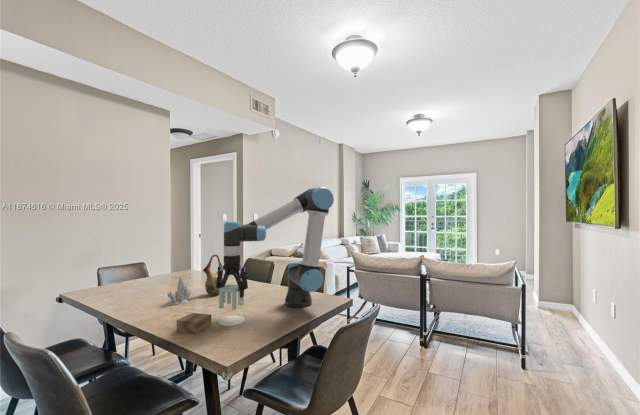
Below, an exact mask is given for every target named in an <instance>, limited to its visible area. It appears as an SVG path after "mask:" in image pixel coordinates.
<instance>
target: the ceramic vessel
mask: <svg viewBox="0 0 640 415" xmlns="http://www.w3.org/2000/svg"><path fill="white" fill-rule="evenodd" d="M214 257H216V259H217V262H218V267H220V266H224V264H222V263H221V260H220V257H219V255H218V254H215V253H214V254H213V255H211V257H210V258H209V261H208V263H207V265H205V267H204V268H202V272H203V273H205V275H206V280H205V281H204V282H205V285H204V289H205V292H206V294H207V295H209V296H211V297H214V296H219V288H216V282H217V276H218V271H216V272H215V273H214V274H213V273H212V272H211V265H212V262H213V258H214ZM223 277H224V276H222V280H223Z"/></svg>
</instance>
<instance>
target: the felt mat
mask: <svg viewBox="0 0 640 415" xmlns="http://www.w3.org/2000/svg"><path fill="white" fill-rule="evenodd" d="M245 321H246V318H245V317H244V316H241V315H229V316H228V315H227V316H224V317H221V318H219V319H218V321H217V324H218V326H221V327H236V326H240V325H242V324H243V323H245Z"/></svg>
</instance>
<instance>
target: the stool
mask: <svg viewBox="0 0 640 415" xmlns="http://www.w3.org/2000/svg"><path fill="white" fill-rule="evenodd" d="M238 291H239V287H238V284H227V285H226V284H225V286H224V287H221V288H219V294H218V297H219V298H218V308H219V309H223V308H224V304H225V303H224V292H226V305H231V310H233V311H235V310H236V309H237V301H238ZM244 298H245V296H244V297H242V304H241V305H240V306H245V305H244V303H245V300H244Z"/></svg>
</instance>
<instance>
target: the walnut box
mask: <svg viewBox="0 0 640 415" xmlns="http://www.w3.org/2000/svg"><path fill="white" fill-rule="evenodd" d="M210 327H212V314H209V313H208V314H207V313H199V312H198V313H197V312H191V313H188V314H187V315H185V316H183V317H181V318H179V319H177V320H176V333H181V334H188V335H189V334H191V335H199V334H200V333H202V332H204V331H205V330H206V329H207V330H208V329H209V328H210Z"/></svg>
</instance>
